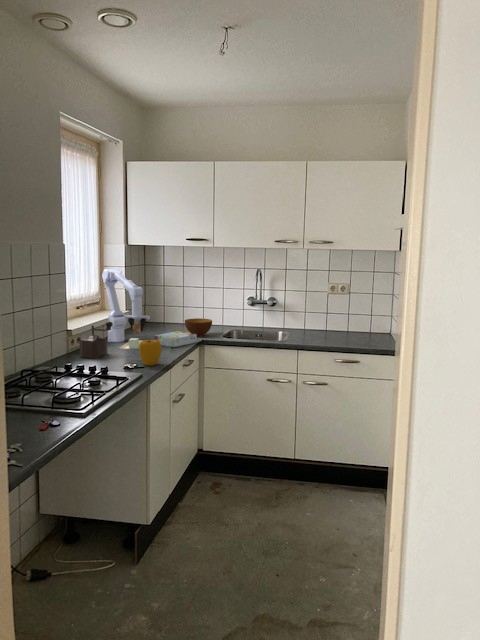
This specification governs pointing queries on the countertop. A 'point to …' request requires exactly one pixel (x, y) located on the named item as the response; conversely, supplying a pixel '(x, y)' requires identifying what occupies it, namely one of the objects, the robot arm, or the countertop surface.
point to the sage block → (134, 343)
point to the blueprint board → (128, 345)
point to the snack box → (176, 338)
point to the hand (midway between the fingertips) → (137, 331)
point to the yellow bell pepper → (150, 352)
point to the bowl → (198, 326)
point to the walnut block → (137, 329)
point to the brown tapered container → (94, 344)
